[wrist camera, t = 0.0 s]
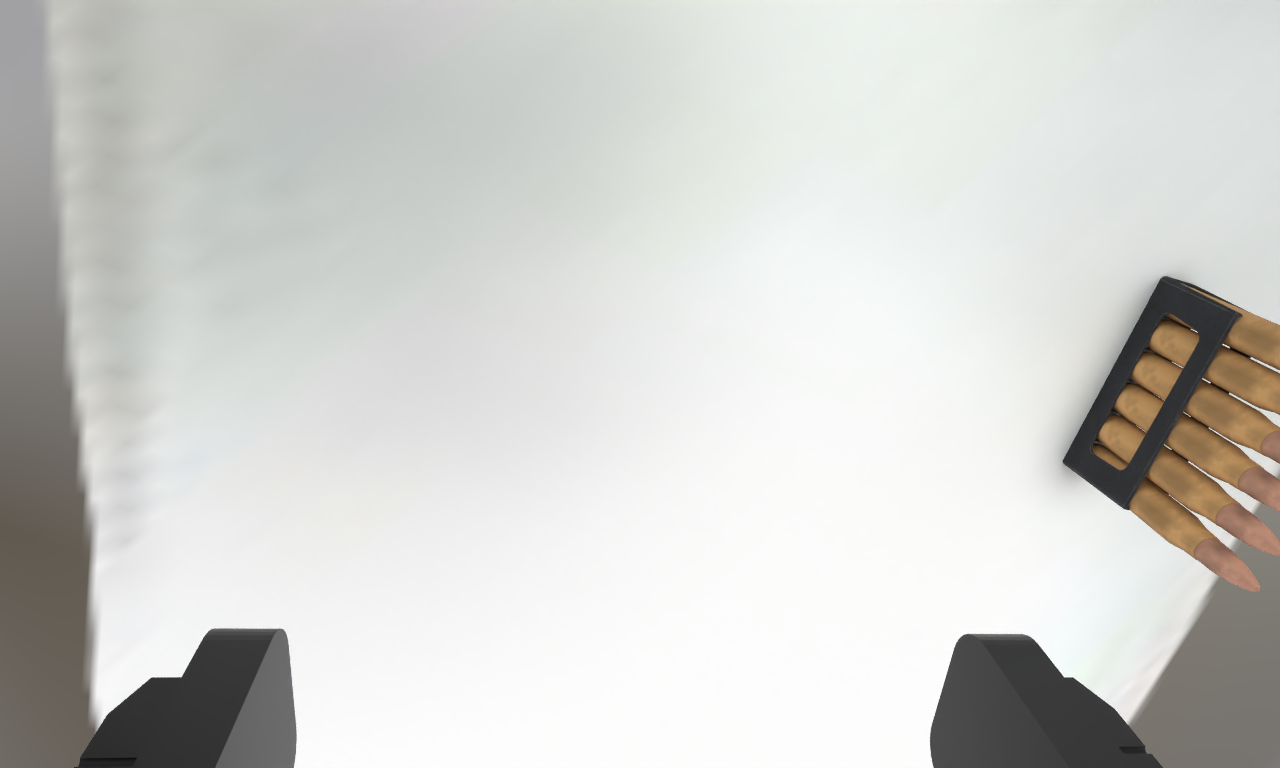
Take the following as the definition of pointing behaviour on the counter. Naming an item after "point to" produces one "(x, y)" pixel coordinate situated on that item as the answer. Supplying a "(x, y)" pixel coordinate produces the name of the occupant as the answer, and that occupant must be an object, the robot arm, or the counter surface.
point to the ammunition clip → (1189, 425)
